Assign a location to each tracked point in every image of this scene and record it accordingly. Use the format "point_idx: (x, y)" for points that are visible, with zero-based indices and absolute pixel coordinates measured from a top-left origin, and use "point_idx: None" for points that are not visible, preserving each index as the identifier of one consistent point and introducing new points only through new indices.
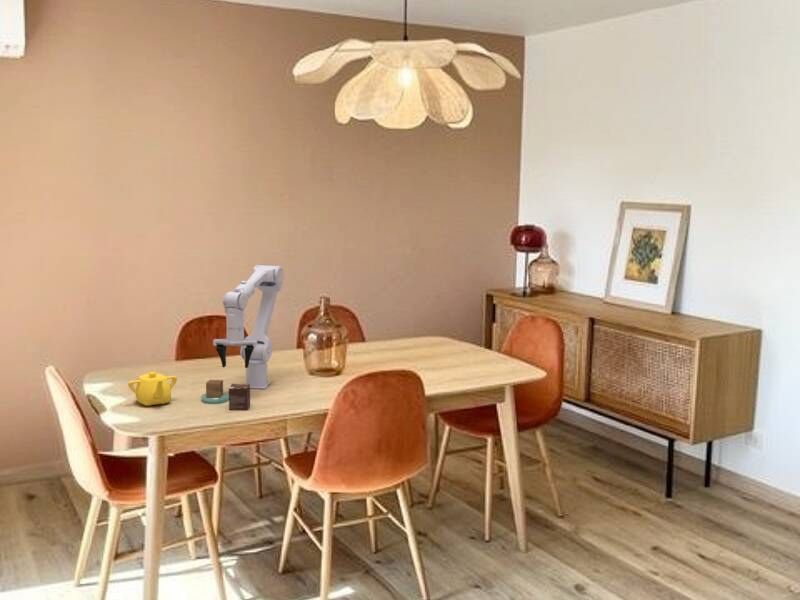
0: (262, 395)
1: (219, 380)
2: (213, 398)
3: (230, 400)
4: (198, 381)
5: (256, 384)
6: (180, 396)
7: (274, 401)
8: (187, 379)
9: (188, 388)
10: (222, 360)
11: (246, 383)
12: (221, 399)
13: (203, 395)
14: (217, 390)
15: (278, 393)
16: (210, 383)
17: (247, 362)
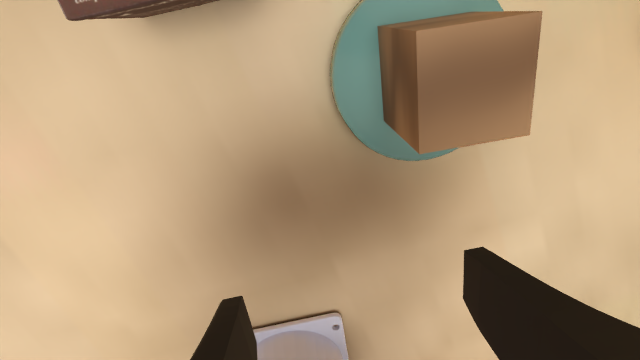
0: (181, 238)
1: (444, 131)
2: (418, 6)
3: None
4: None
5: (273, 346)
6: (629, 93)
7: (32, 146)
8: None
9: (603, 238)
10: (530, 287)
11: (336, 351)
12: (358, 9)
13: None
14: (412, 25)
15: (115, 295)
16: (499, 17)
17: (199, 346)
